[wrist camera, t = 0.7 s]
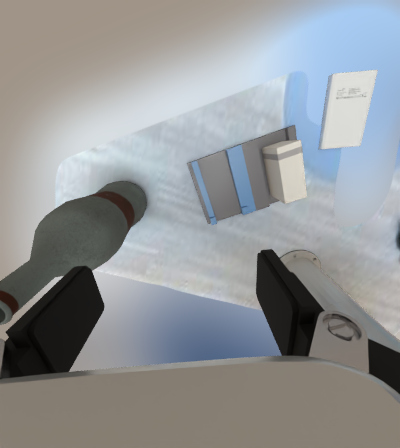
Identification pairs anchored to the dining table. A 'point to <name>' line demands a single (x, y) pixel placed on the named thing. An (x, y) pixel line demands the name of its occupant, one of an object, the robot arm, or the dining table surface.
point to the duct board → (236, 178)
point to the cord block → (285, 170)
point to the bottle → (73, 241)
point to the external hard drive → (346, 108)
